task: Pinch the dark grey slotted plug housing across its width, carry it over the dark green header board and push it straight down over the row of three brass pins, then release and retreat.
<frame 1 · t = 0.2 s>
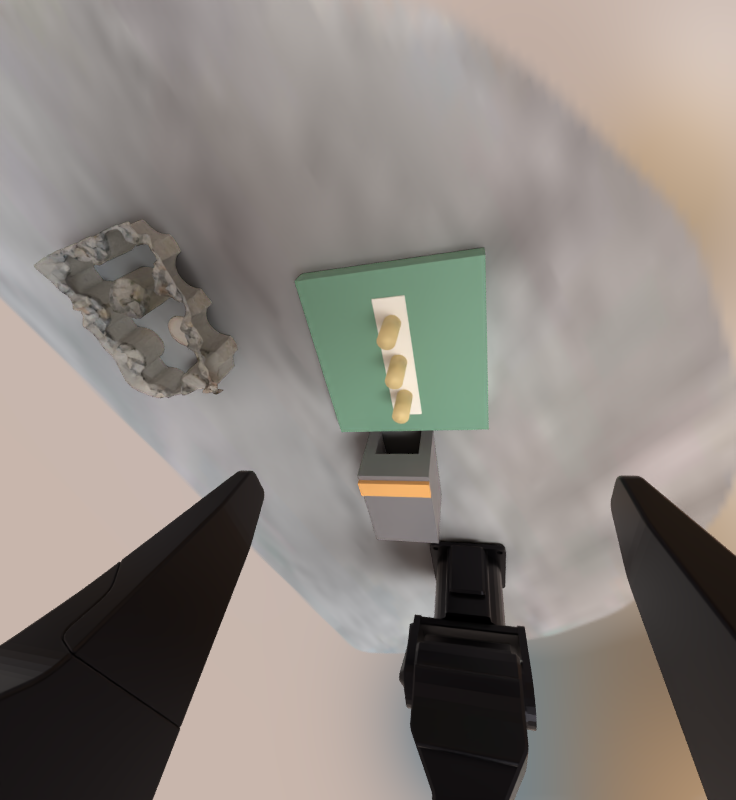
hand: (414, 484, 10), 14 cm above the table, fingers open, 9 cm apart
egg carton: (171, 306, 25), on the table
header board: (401, 351, 23), on the table
plug housing: (407, 463, 30), on the table
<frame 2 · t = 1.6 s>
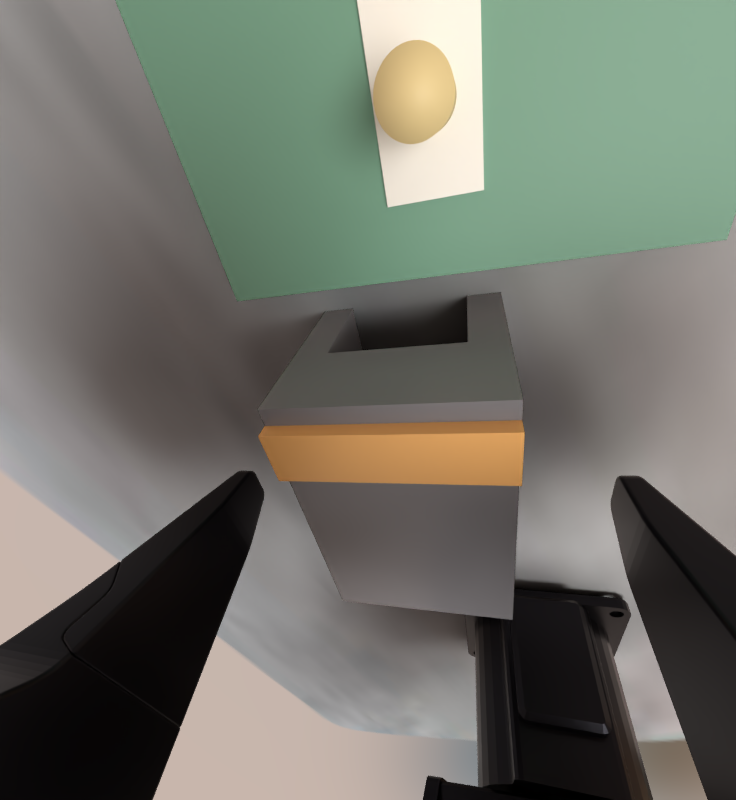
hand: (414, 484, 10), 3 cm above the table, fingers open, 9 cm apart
plug housing: (422, 407, 12), on the table
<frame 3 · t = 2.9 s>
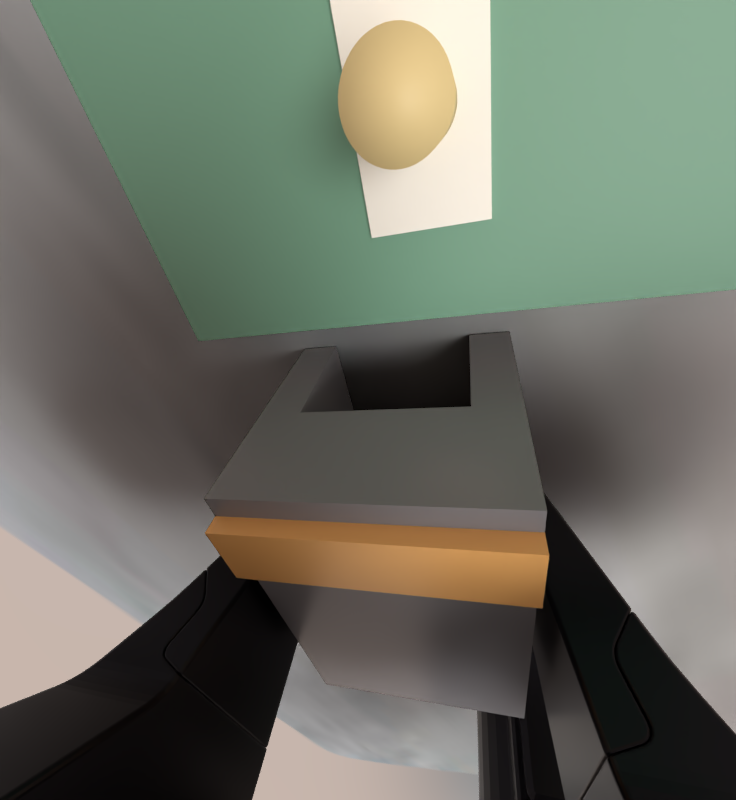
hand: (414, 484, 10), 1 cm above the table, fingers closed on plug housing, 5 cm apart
plug housing: (418, 455, 10), on the table, touching gripper
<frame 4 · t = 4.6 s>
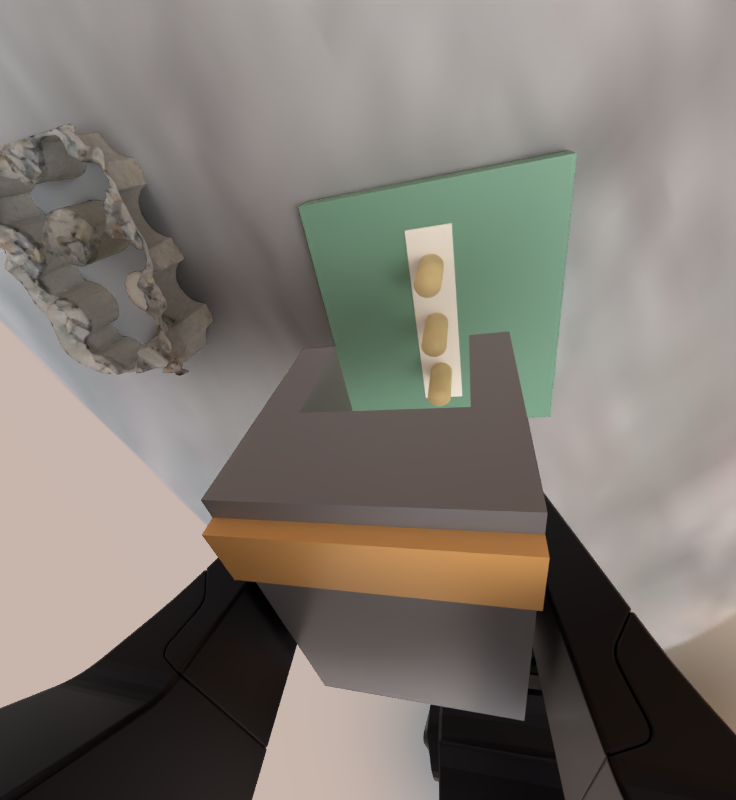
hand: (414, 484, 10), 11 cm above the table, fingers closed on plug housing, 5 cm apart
egg carton: (130, 259, 20), on the table
header board: (438, 311, 18), on the table
plug housing: (417, 455, 10), point 10 cm above the table, touching gripper
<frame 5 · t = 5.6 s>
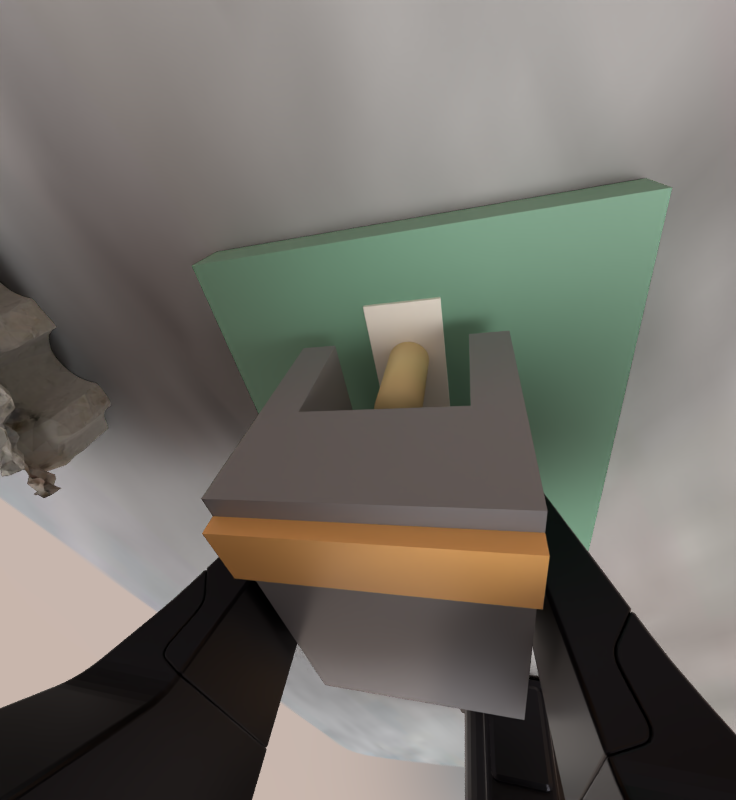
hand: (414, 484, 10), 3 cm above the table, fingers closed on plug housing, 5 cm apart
header board: (424, 407, 12), on the table
plug housing: (417, 454, 10), point 2 cm above the table, touching gripper
when the fingers open (3 cm above the table, at t = 6.4 s): plug housing stays where it is, resting on header board.
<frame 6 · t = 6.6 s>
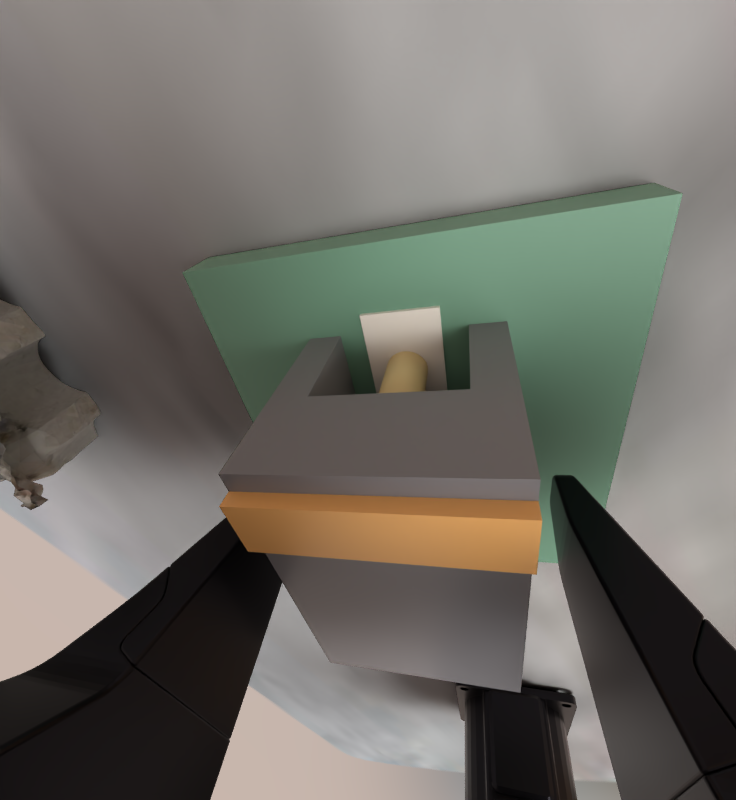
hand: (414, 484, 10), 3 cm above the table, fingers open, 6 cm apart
header board: (423, 416, 12), on the table
plug housing: (419, 442, 11), point 1 cm above the table, touching header board
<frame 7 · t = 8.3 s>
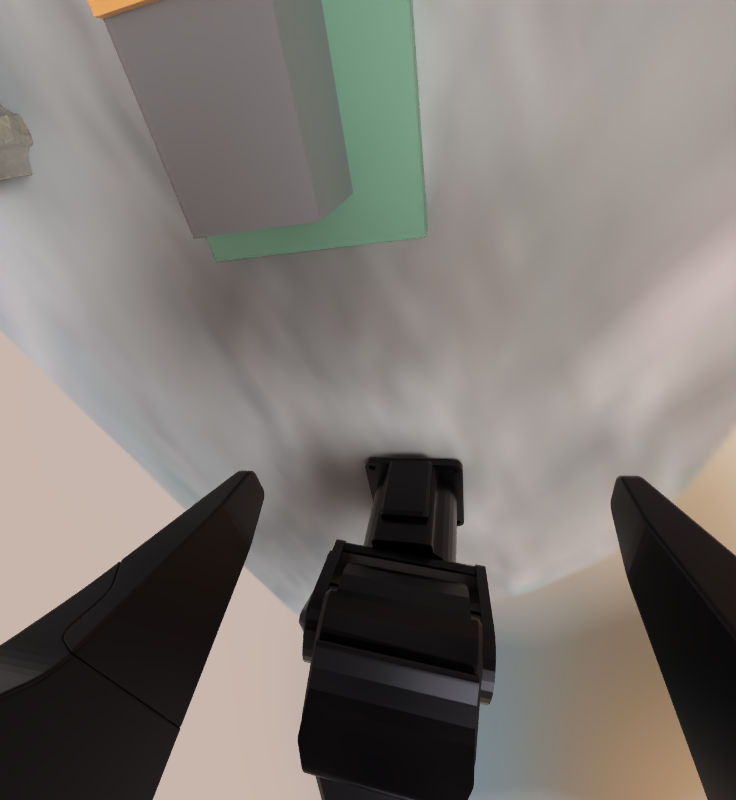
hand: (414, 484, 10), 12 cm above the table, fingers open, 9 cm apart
header board: (286, 94, 15), on the table
plug housing: (274, 94, 14), point 1 cm above the table, touching header board
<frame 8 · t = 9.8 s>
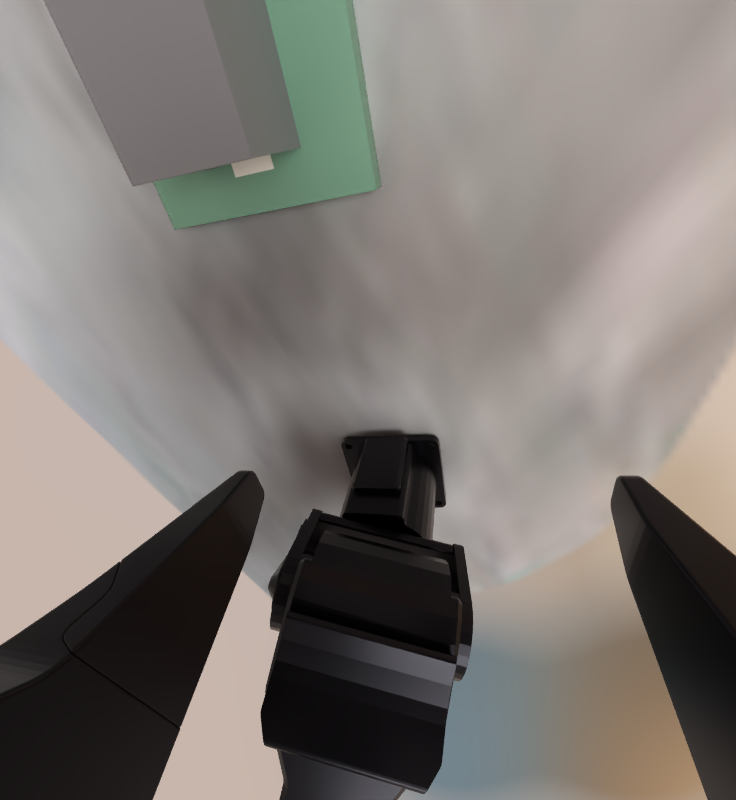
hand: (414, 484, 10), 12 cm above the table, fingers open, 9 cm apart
header board: (231, 51, 15), on the table
plug housing: (215, 48, 14), point 1 cm above the table, touching header board
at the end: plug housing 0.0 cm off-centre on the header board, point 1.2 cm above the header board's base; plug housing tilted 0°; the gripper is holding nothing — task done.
